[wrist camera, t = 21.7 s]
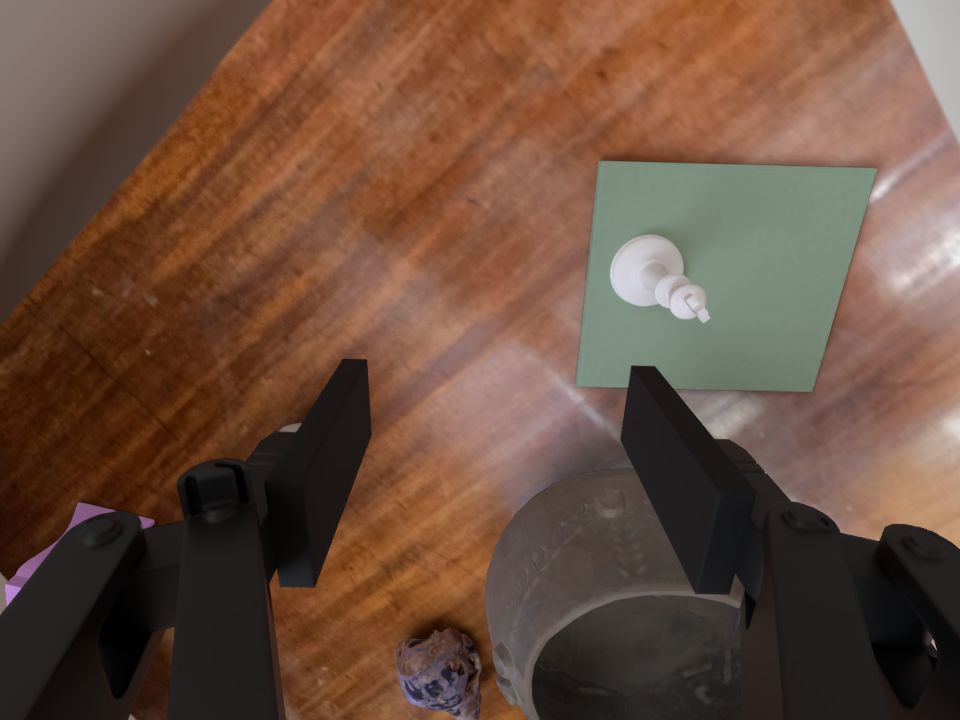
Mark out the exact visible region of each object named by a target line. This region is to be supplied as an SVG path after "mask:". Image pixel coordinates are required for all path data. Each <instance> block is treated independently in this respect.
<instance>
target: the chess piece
mask: <svg viewBox="0 0 960 720" xmlns="http://www.w3.org/2000/svg"><path fill="white" fill-rule="evenodd" d="M683 271H684V264H683V259H682V256H681V254H680V252H679V250H678V249H677V248H676V246H675V245H674V244H673V243H672V242H671V241H669V240H668V239H666V238H664V237H662V236H659V235H652V234H648V235H641V236H638V237H635V238H633V239H631V240H630V241H628V242H627V243H625V244H624V245H623V246H622V247H621V248H620V249H619V250H618V252H617V253H616V255H615V257H614V259H613V261H612V264H611V268H610V280H611V284H612V287H613V289H614V290H615V292H616V293H617V295H618V296H619V297H620V298H622V299H623V300H625V301H626V302H628V303H631V304H633V305H637V306H652V305H656V304H658V303H659V304H660V305H661V306H663V307H665V308H670V310H671V312H672V313H673V315H675V316H676V317H677V318H680V319H692V318H694V317H696V316H697V317H698V318H699V320H700V321H701V322H703V323H705V322H706V321H708V320H709V319H710V317H709V315H708V314H709V313H708V311H707V310H706V309H705V305H706V301H707V298H706V294H705V292H704V290H703V289H702V288H701V287H700V286H698V285H695V284H691V283H690V281H689V279H688V278H687V277H686V276H684V275H683Z"/></svg>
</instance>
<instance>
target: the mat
mask: <svg viewBox="0 0 960 720" xmlns="http://www.w3.org/2000/svg"><path fill="white" fill-rule="evenodd" d="M876 173H877V168H856V167H819V166H782V165H744V164H707V163H670V162H633V161H598V169H597V179H596V189H595V198H594V208H593V218H592V227H591V237H590V247H589V257H588V266H587V276H586V286H585V295H584V305H583V315H582V325H581V334H580V344H579V354H578V363H577V373H576V383H575V384H576V386H577V387H609V388H628V385H629V378H630V371H631V365H635V366H655V367H656V368H657V369H658V370H659V371H660V373H661V374H662V375H663V376H664V378H665V379H666V380H667V381H668V383H669V384H670V385H671V386H672V388H673V389H701V390H747V391H793V392H813V389H814V385H815V382H816V378H817V375H818V371H819V368H820V365H821V361H822V358H823V354H824V351H825V347H826V344H827V341H828V337H829V334H830V330H831V327H832V323H833V320H834V317H835V313H836V310H837V306H838V303H839V300H840V296H841V293H842V289H843V286H844V282H845V279H846V276H847V272H848V269H849V265H850V262H851V258H852V255H853V252H854V248H855V245H856V241H857V238H858V235H859V231H860V228H861V224H862V221H863V217H864V214H865V211H866V207H867V204H868V200H869V197H870V193H871V190H872V187H873V183H874V180H875V176H876ZM648 234H652V235H659V236H662V237H664V238H666V239H668V240H669V241H671V242H672V243H673V244H674V245H675V246H676V248H677V249H678V250H679V252H680V254H681V256H682V259H683V264H684V271H683V275H684V276H686V277H687V278H688V279H689V281H690V283H691V284H695V285H698V286H700V287H701V288H702V289H703V290H704V292H705V294H706V298H707V301H706V305H705V309H706V310H707V311H708V313H709V314H708V315H709V317H710V319H709V320H708V321H706V322H705V323H703V322H701V321H700V320H699V318H698V317H697V316H696V317H694V318H692V319H680V318H677V317H676V316H675V315H673V313H672V312H671V310H670V308H665V307H663V306H661V305H660V304H659V303H658V304H656V305H652V306H637V305H633V304H631V303H628V302H626V301H625V300H623V299H622V298H620V297H619V296H618V295H617V293H616V292H615V290H614V289H613V287H612V284H611V280H610V268H611V264H612V261H613V259H614V257H615V255H616V253H617V252H618V250H619V249H620V248H621V247H622V246H623V245H624V244H625V243H627V242H628V241H630V240H631V239H633V238H635V237H638V236H641V235H648Z"/></svg>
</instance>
